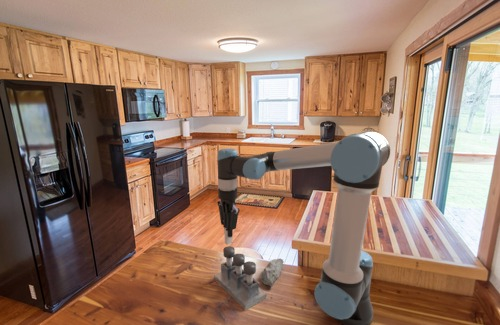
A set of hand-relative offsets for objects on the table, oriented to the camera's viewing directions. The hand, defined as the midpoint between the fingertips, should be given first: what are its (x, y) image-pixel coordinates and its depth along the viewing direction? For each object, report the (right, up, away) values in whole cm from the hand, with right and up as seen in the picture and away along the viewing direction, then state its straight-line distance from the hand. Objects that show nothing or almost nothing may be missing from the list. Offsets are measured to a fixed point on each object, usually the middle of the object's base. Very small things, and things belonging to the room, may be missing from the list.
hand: (228, 242), depth 108 cm
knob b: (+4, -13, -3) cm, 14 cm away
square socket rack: (+4, -18, -2) cm, 18 cm away
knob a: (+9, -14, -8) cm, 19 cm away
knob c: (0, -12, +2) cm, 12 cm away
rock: (+18, -17, +5) cm, 25 cm away
